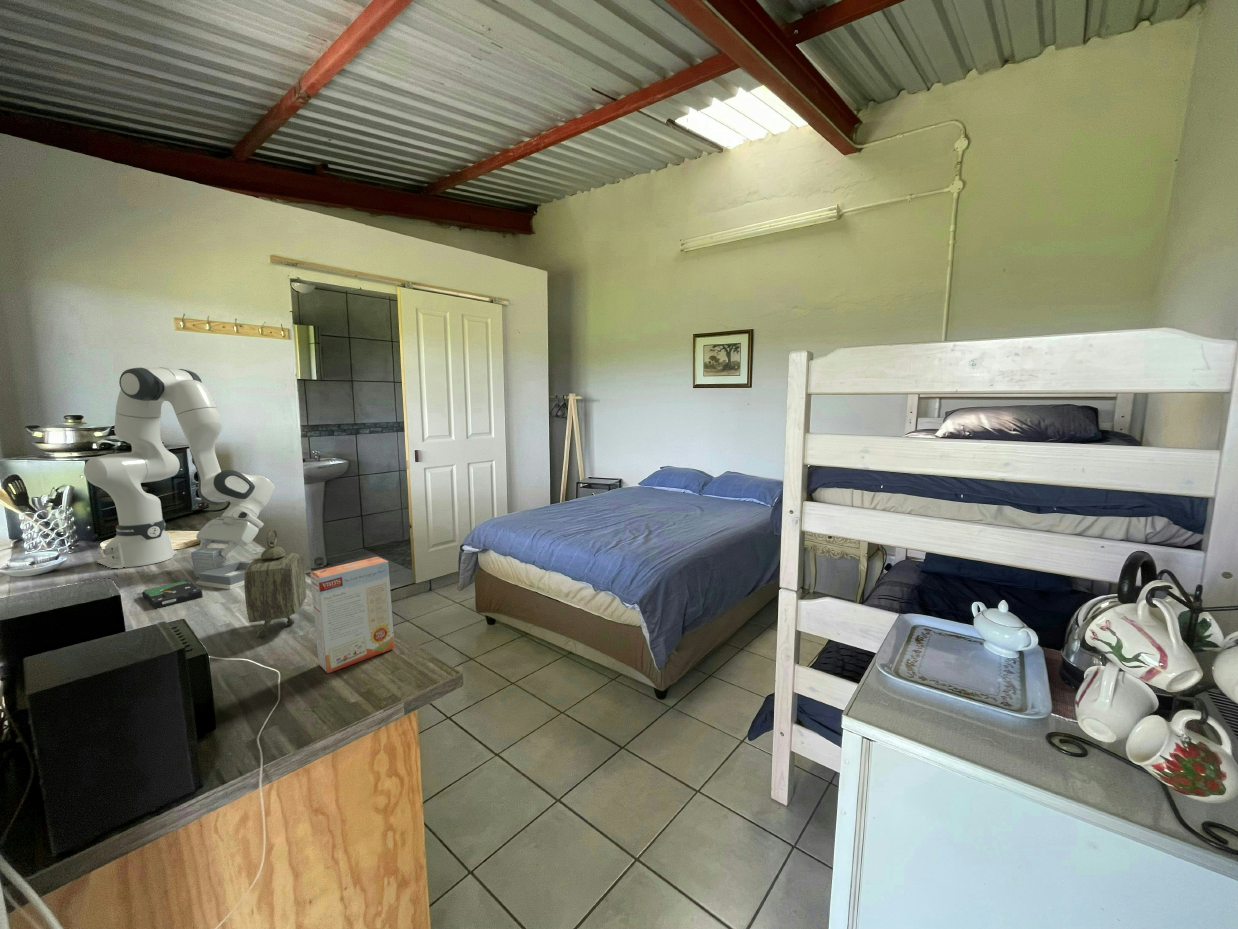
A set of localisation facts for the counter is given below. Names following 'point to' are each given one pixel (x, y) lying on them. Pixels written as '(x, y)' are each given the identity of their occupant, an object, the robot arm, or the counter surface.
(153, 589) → the disk drive
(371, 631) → the cracker box
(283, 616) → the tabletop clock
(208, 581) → the dock
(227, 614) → the counter surface
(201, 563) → the medicine box
